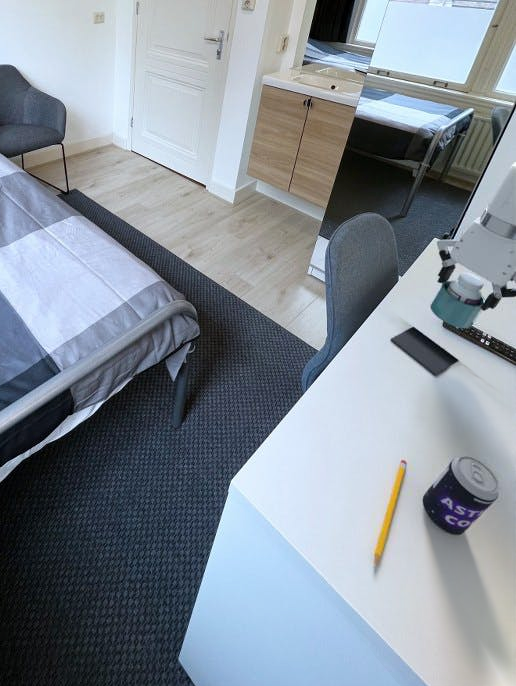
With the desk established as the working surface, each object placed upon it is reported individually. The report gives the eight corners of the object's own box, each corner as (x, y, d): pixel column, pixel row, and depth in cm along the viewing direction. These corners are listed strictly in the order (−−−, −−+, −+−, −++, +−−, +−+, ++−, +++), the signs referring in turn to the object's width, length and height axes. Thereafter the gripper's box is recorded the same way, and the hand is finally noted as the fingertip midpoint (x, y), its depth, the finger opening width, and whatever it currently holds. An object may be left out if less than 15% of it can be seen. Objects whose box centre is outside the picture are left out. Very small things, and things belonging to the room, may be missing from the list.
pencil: (405, 464, 72) (407, 462, 71) (376, 570, 59) (378, 568, 58) (400, 461, 72) (402, 458, 72) (370, 565, 59) (372, 563, 59)
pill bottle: (465, 311, 91) (487, 277, 86) (467, 327, 87) (490, 292, 82) (436, 300, 93) (456, 266, 89) (436, 314, 89) (457, 280, 85)
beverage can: (419, 520, 65) (455, 478, 59) (420, 486, 69) (453, 444, 63) (464, 547, 62) (505, 506, 56) (461, 510, 66) (500, 469, 61)
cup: (479, 321, 89) (493, 300, 86) (460, 333, 86) (474, 311, 83) (442, 297, 95) (454, 277, 92) (422, 307, 92) (434, 286, 89)
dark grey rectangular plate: (470, 353, 94) (470, 351, 94) (435, 375, 88) (436, 374, 88) (425, 320, 102) (425, 319, 102) (390, 339, 96) (390, 338, 96)
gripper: (573, 247, 74) (521, 318, 83) (466, 198, 88) (430, 263, 96) (554, 257, 71) (502, 330, 79) (446, 205, 84) (411, 272, 93)
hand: (463, 293), depth 88 cm, fingers closed on cup, 7 cm apart
